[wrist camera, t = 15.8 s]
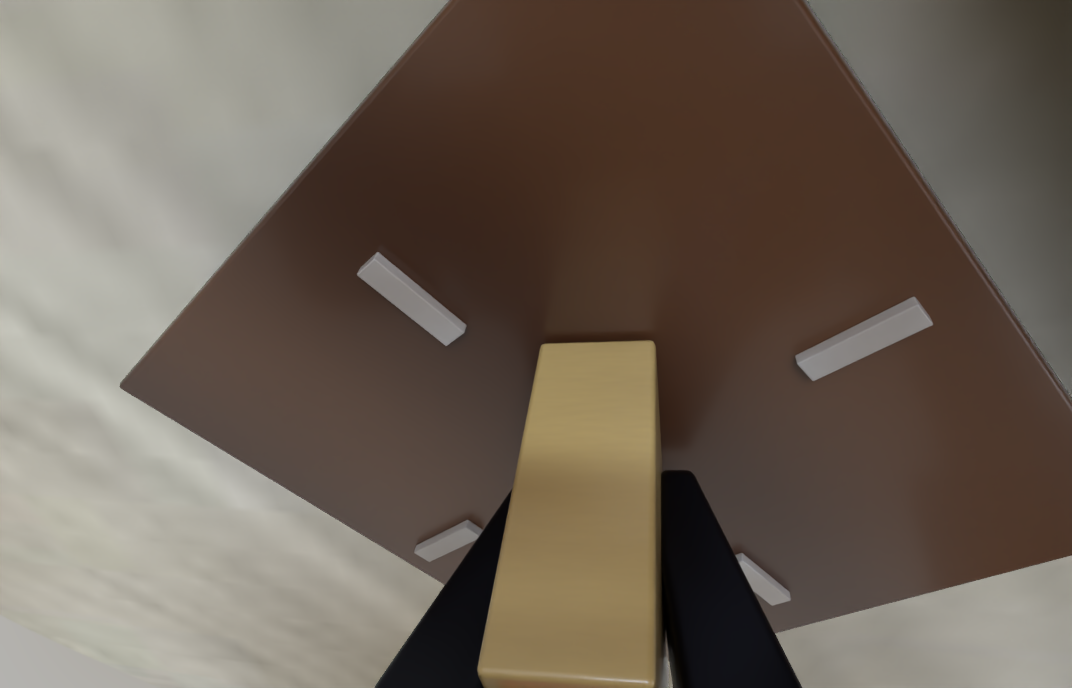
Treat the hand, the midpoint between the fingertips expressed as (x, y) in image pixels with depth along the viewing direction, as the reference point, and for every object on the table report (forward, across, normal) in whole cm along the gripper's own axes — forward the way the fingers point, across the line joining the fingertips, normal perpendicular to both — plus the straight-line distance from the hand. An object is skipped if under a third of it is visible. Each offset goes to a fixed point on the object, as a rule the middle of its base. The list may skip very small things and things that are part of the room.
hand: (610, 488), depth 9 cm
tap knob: (0, 0, 0) cm, 0 cm away
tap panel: (+3, 0, 0) cm, 3 cm away
